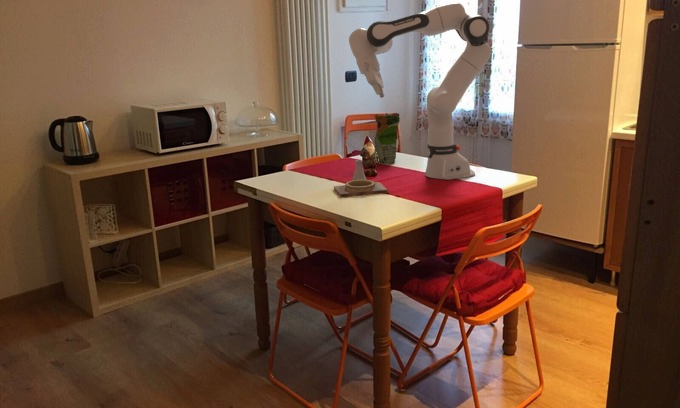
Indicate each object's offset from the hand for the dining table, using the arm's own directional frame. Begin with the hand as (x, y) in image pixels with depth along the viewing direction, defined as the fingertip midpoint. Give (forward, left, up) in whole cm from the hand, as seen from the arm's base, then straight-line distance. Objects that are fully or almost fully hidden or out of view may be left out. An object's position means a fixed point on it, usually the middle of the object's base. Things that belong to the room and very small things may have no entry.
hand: (380, 95), depth 249 cm
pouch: (-12, -35, -38) cm, 53 cm away
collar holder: (+14, +14, -38) cm, 42 cm away
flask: (+11, 0, -38) cm, 39 cm away
